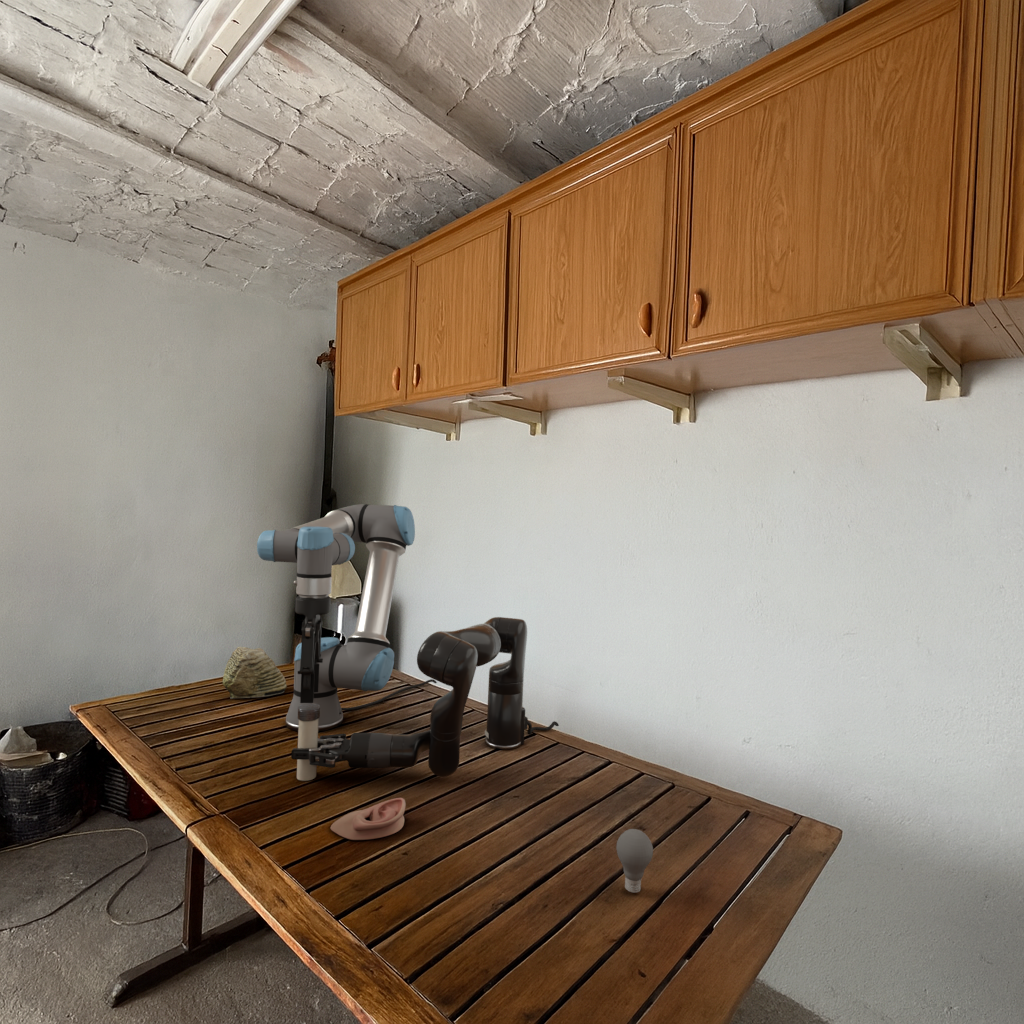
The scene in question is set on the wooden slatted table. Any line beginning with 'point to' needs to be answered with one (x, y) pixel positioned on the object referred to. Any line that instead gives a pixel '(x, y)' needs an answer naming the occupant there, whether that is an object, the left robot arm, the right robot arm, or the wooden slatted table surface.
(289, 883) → the wooden slatted table surface
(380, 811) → the anatomical model
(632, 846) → the light bulb
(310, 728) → the beige cylinder
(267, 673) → the fossil
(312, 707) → the lid
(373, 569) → the left robot arm
